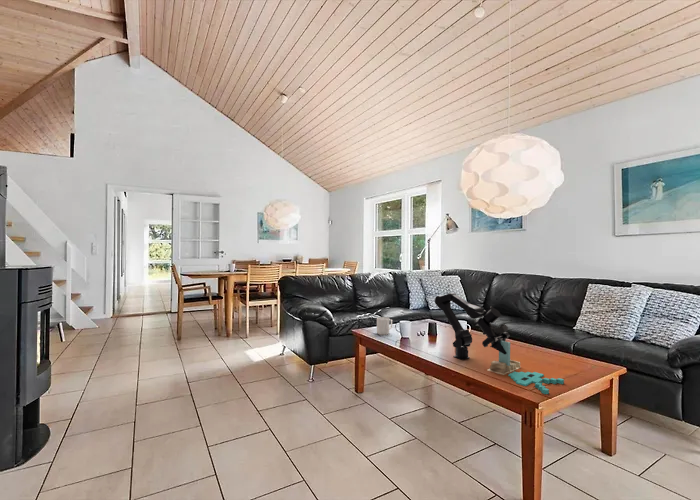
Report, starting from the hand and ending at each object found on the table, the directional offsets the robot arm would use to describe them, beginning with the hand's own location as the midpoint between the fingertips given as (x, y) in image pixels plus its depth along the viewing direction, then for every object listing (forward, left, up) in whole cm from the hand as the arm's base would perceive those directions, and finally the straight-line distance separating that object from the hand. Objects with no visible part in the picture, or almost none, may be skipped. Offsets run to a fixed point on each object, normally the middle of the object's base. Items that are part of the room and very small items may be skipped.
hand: (507, 353), depth 187 cm
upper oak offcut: (-1, -5, -6) cm, 8 cm away
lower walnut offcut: (0, -5, -8) cm, 10 cm away
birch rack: (-1, 0, -9) cm, 9 cm away
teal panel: (-1, 0, -6) cm, 6 cm away
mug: (-94, -9, -9) cm, 95 cm away
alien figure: (+16, -2, -10) cm, 19 cm away
